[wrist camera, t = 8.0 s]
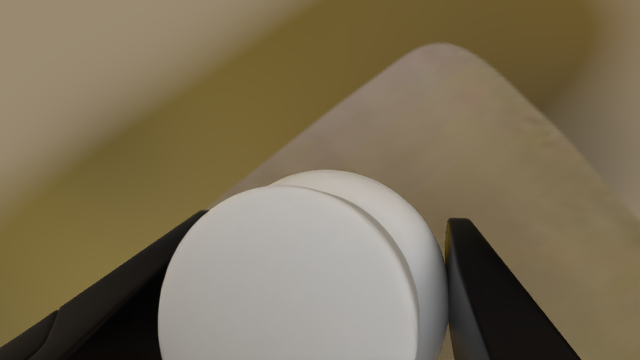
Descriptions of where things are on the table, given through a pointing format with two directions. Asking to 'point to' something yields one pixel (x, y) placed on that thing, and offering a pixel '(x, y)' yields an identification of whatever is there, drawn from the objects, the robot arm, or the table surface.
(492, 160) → the table surface
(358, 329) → the supplement bottle
